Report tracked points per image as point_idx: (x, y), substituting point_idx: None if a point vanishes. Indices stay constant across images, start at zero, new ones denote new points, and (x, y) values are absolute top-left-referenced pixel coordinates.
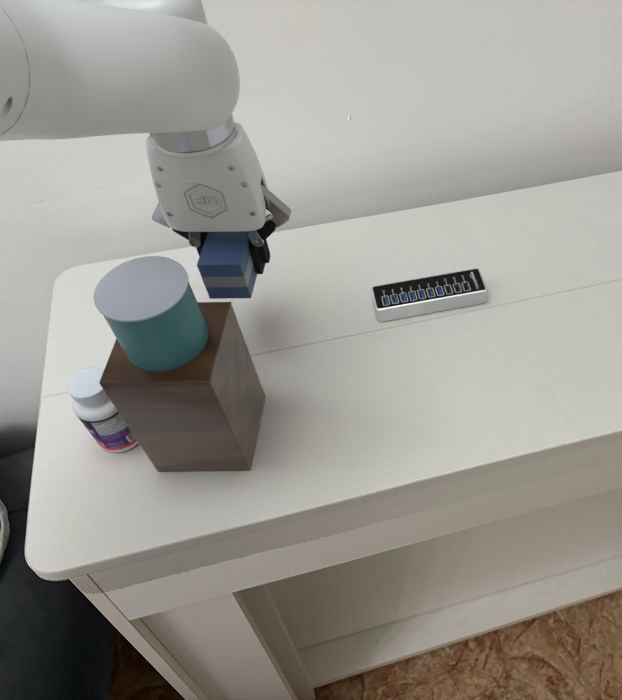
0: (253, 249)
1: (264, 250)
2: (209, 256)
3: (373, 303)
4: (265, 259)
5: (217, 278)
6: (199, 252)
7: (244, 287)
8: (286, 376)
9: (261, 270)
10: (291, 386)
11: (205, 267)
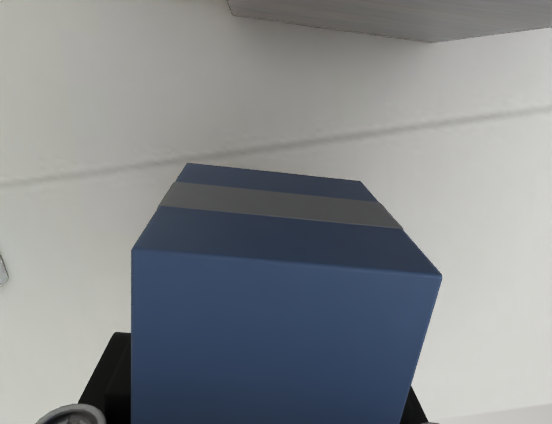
0: (115, 388)
1: (87, 385)
2: (358, 341)
3: (2, 266)
4: (113, 344)
5: (315, 214)
6: (409, 396)
7: (190, 181)
8: (186, 71)
9: None
10: (171, 37)
11: (383, 259)
